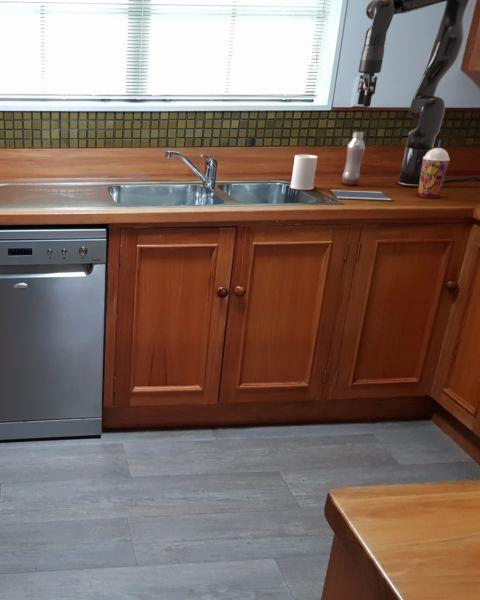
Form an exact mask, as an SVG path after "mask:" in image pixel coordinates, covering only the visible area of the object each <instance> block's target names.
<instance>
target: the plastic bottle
mask: <svg viewBox="0 0 480 600" xmlns="http://www.w3.org/2000/svg"><path fill="white" fill-rule="evenodd" d="M364 133H365V132H364V131H353V133H352V138H351V140H350V141H349V142H348V144H347V146H346V161H345V165H344V168H343V169H344V170H343V173H342V176H341V182H342V184H344V185H346V186H347V185H348V186H353V185H357V184H358V183H360V177H361V174H360V172H361V163H362V160H363V156H364V152H365V149H366V144H365V141H364V140H363V138H364Z"/></svg>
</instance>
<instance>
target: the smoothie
mask: <svg viewBox="0 0 480 600" xmlns="http://www.w3.org/2000/svg"><path fill="white" fill-rule="evenodd" d="M441 144H442V139H439V141H438V145H437V147H433V149H431V150H430V151H428V152H427V153H426V155H425V156H424V157H423V162H422V169H421V175H420V182H419V187H418V190H417V192H418V196H419V197H421V198H425V199H436V198H437V197H438V196H439V195H440V193H441V191H442V190H441V189H442V186H443V180H445V176H446V173H447V170H448V167H449V163H450V160H451V159H450V156H449V153H448V151H447V150H446V149H444V148H442V147H441Z"/></svg>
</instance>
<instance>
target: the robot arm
mask: <svg viewBox="0 0 480 600" xmlns="http://www.w3.org/2000/svg"><path fill="white" fill-rule="evenodd" d="M444 2H445V5H444V6H445V7H444V11H443V14H442V17H441V20H440V23H439V26H438V29H437V33H436V36H435V38H434V41H433V43H432V47H431V48H430V52H429V56H428V59H427V62H426V65H425V66H424V67H425V68H424V71H423V73H422V76H421V78H420V80H419V84H418V86H417V88H416V90H415V93H414V94H413V97H412V99H411V102H410V105H409V109H408V112H409V117H410V118H411V119H413V120H414V121H418V124H417V127H416V128H414V129H413V130H410V131H409V132H408V135H407V140H406V144H405V150H404V154H403V158H402V159H403V160H402V163H401V169H400V173H399V178H398V182H397V183H398V185H401V186H405V187H412V188H419V182H420V175H421V169H422V162H423V157H424V156H425V155H426V153H427V152H428V151H430V150H431V149H434V145H435V140H436V138H437V135H438V134H439V132H440V130H441V127H442V123H443V120H444V115H445V110H446V103H445V100H444V99H443V97H440V96H436V95H435V94H436V91H437V89H438V86H439V84H440V82H441V81H442V79H443V78H444V77H445V76H446V74H447V73H448V72H449V71H450V69H451V68H453V66H454V65H455V63H456V61H457V60H458V57H459V55H460V52H461V49H462V46H463V44H464V39H465V35H464V34H465V30H464V17H465V13H466V10H467V7H468V4H469V2H470V0H371V1H370V2H369V3H368V4H367V6H366V8H365V15H366V17H367V18H368V19H370V20H371V25H370V26H369V27H368V28H367V29H366V31H365V35H364V40H363V46H362V49H361V52H360V53H361V54H360V59H359V65H358V73H359V74H361V75H360V76H359V80H358V86H357V93H358V99H357V105H360V106H362V105H363V107H369V108H370V106H371V103H372V97H373V96H374V95H375V94H376V87H377V83H378V82H377V81H378V76H375V74H380V73H381V71H382V67H383V60H384V55H385V45H386V41H387V33H388V32H389V29H390V26H391V24H392V21H393V18H394V15H400V14H407V13H410V12H413V11H419V10H422V9H424V8H427V7H431V6H433V5H437V4H441V3H444ZM472 179H475V180H477V181H479V182H480V177H479V176H477V175H472V176H471V175H470V176H468V177H459V178H458V177H457V178H455V177H454V178H447V179H444V180H443V183H447V182H458V181H460V182H461V181H468V180H472ZM443 183H442V184H443Z"/></svg>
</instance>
